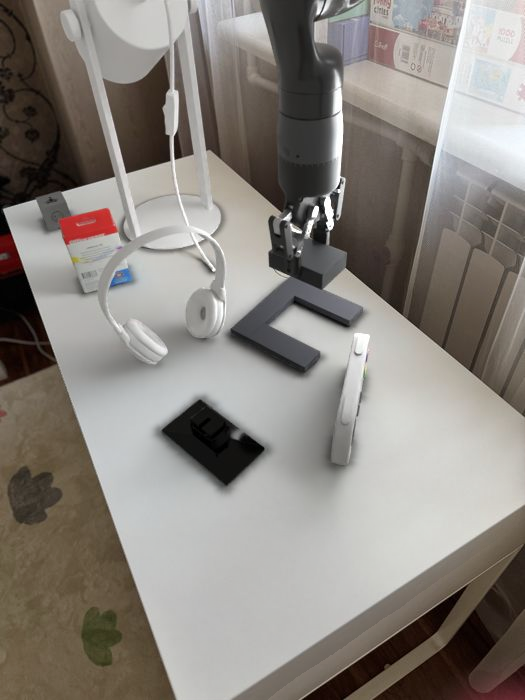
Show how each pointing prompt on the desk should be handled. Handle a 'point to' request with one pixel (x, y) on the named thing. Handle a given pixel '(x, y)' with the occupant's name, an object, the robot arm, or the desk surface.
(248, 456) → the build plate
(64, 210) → the dice cube
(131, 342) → the headphones
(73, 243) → the ink box
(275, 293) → the base pad
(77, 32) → the desk lamp
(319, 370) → the desk surface
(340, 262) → the small pad
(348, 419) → the game controller
